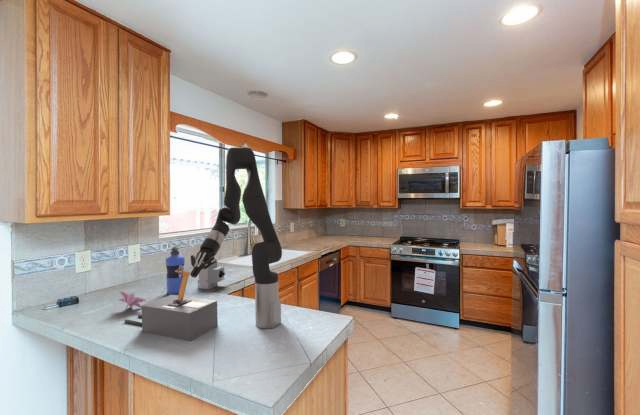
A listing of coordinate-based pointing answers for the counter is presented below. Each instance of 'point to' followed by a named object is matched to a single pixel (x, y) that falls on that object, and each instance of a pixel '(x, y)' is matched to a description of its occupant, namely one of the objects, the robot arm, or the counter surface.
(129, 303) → the lily
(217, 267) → the circuit breaker
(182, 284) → the breaker lever
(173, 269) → the water bottle
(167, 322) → the box
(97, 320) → the counter surface
